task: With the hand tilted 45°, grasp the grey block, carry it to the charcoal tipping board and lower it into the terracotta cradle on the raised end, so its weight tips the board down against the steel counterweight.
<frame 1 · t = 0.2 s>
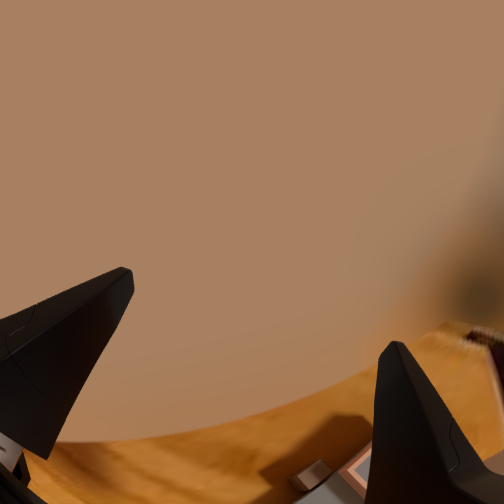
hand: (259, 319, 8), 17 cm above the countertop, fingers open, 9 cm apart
grey block: (465, 495, 11), on the countertop
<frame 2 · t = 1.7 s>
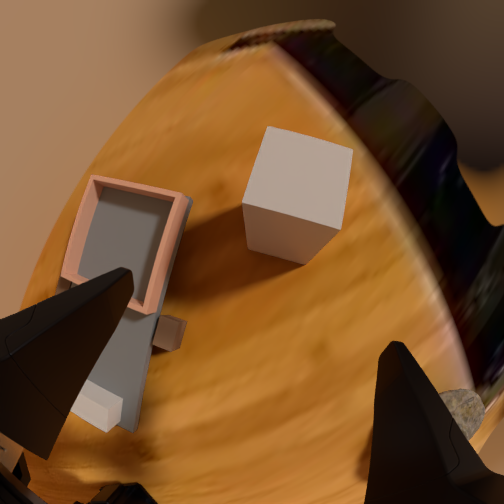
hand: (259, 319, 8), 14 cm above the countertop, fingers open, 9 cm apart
fossilized seashell: (425, 426, 19), on the countertop
pivot stand: (120, 310, 22), on the countertop
grey block: (284, 229, 23), on the countertop
tipping board: (101, 310, 19), point 3 cm above the countertop, hinge at -6.0°
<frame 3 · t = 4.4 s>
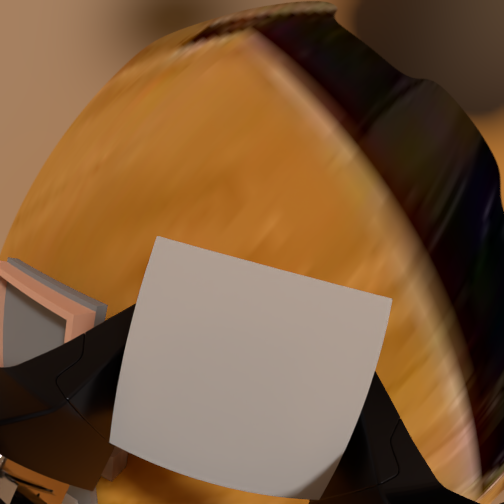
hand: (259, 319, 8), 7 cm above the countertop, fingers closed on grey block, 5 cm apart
pivot stand: (57, 413, 13), on the countertop
grey block: (252, 339, 14), on the countertop, touching gripper
tipping board: (31, 426, 10), point 3 cm above the countertop, hinge at -6.0°
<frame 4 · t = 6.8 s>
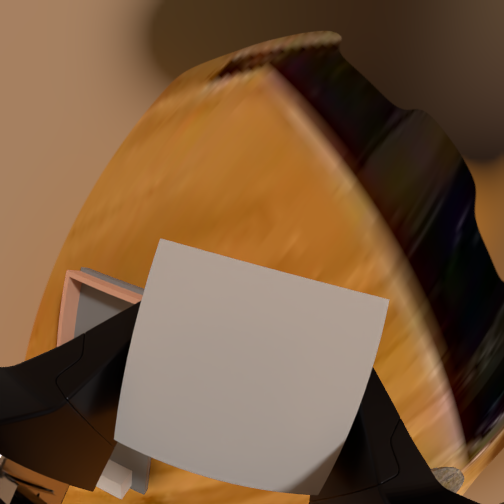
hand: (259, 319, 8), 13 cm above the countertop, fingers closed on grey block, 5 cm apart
fossilized seashell: (408, 488, 17), on the countertop
grey block: (252, 337, 15), point 6 cm above the countertop, touching gripper
tipping board: (101, 405, 17), point 3 cm above the countertop, hinge at -6.0°
when the fingers open (11 cm above the countertop, at t = 9.4 s): grey block drops 2 cm, resting on tipping board.
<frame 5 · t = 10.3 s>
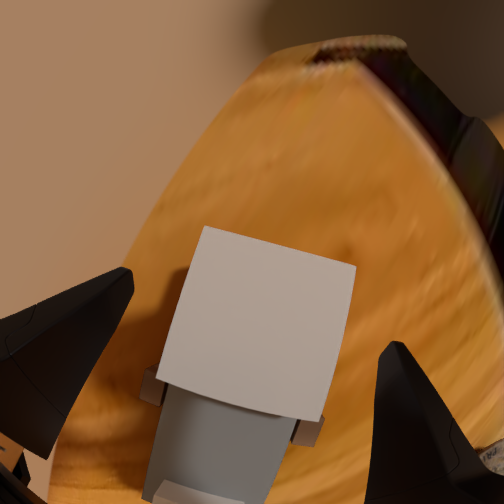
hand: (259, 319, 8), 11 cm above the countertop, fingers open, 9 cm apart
fossilized seashell: (478, 464, 14), on the countertop
pivot stand: (232, 403, 18), on the countertop
grey block: (254, 332, 17), point 2 cm above the countertop, tilted 6°, touching tipping board
tipping board: (228, 418, 15), point 3 cm above the countertop, hinge at 6.4°, touching grey block
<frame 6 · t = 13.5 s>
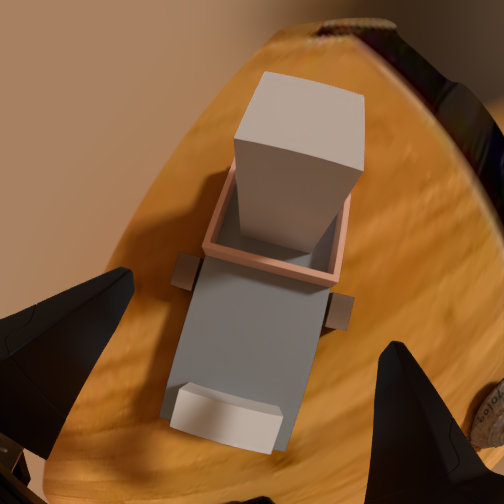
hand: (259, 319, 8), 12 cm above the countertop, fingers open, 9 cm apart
fossilized seashell: (498, 404, 17), on the countertop
pivot stand: (261, 294, 20), on the countertop
grey block: (283, 213, 20), point 2 cm above the countertop, tilted 6°, touching tipping board
tipping board: (263, 289, 17), point 3 cm above the countertop, hinge at 6.4°, touching grey block
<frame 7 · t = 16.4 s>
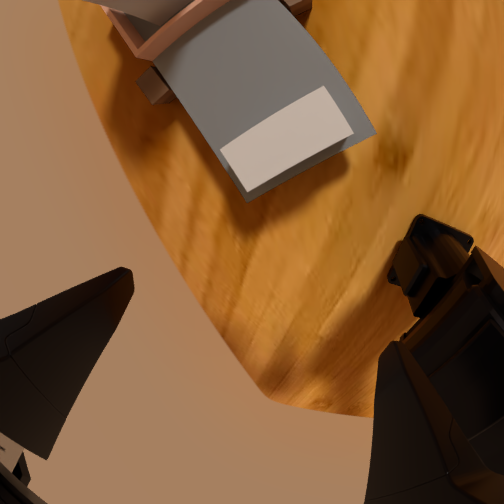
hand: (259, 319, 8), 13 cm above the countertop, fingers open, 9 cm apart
pivot stand: (225, 39, 14), on the countertop
tipping board: (208, 28, 11), point 3 cm above the countertop, hinge at 6.4°, touching grey block
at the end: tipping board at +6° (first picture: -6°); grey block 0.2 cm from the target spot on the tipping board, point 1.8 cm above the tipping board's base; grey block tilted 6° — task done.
